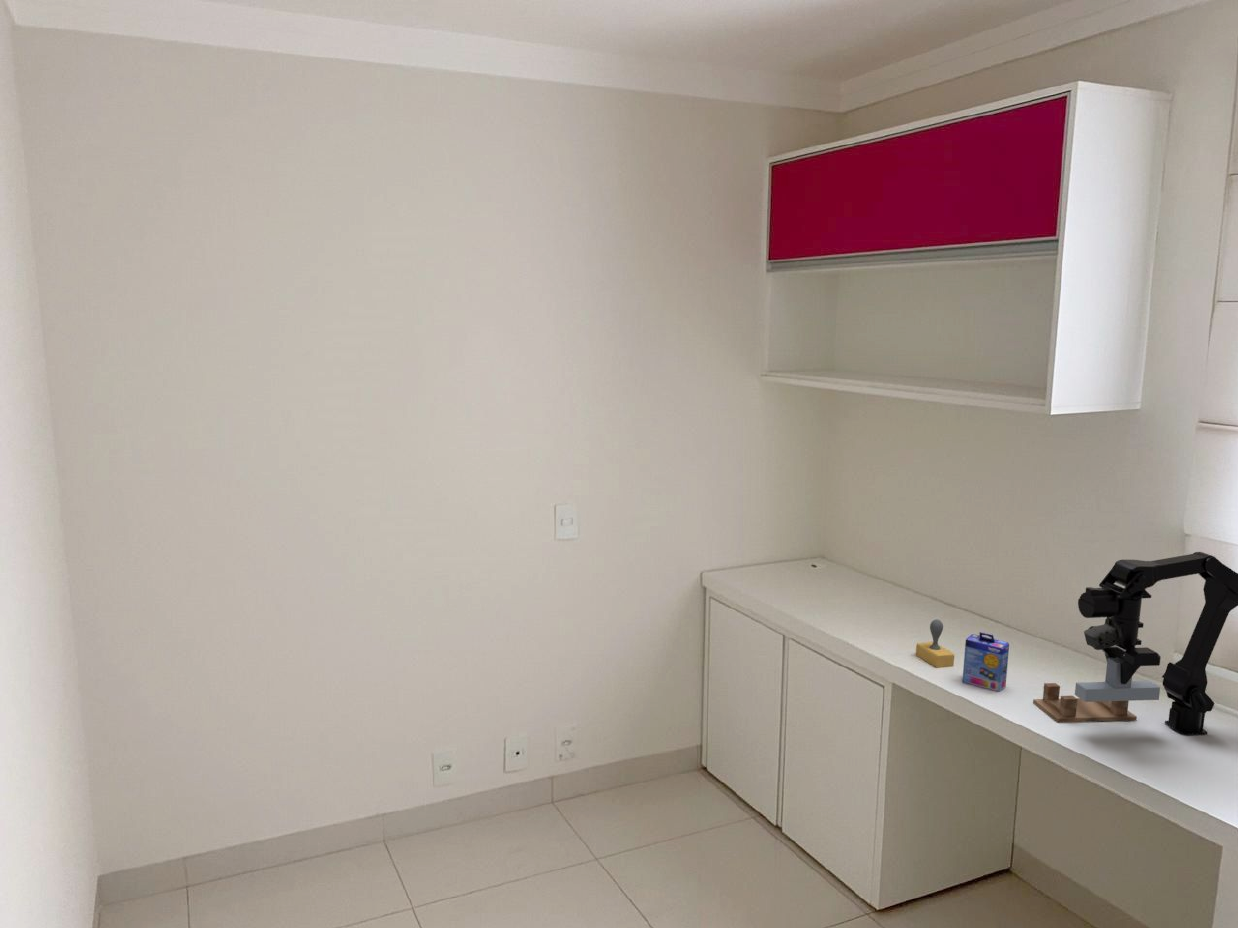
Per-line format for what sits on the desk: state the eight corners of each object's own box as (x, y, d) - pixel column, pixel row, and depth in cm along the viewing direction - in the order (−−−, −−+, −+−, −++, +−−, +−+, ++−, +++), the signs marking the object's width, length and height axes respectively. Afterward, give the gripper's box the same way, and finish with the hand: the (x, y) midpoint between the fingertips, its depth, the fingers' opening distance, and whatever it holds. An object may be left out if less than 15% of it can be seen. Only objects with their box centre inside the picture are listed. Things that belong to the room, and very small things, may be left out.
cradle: (1108, 701, 234) (1111, 680, 233) (1136, 720, 223) (1138, 698, 222) (1032, 702, 232) (1034, 682, 231) (1057, 722, 221) (1059, 700, 220)
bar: (1147, 692, 217) (1151, 656, 216) (1158, 699, 213) (1163, 662, 212) (1074, 694, 216) (1078, 657, 214) (1084, 701, 212) (1088, 664, 210)
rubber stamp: (914, 655, 263) (917, 614, 261) (932, 653, 265) (935, 613, 263) (936, 668, 254) (939, 626, 252) (954, 666, 255) (957, 624, 253)
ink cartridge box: (960, 682, 244) (965, 630, 242) (968, 676, 248) (972, 624, 246) (999, 692, 238) (1004, 639, 236) (1006, 686, 242) (1011, 633, 240)
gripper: (1068, 603, 220) (1062, 665, 222) (1117, 630, 201) (1110, 698, 204) (1112, 602, 221) (1106, 664, 223) (1165, 629, 202) (1157, 696, 205)
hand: (1118, 680), depth 214 cm, fingers closed on bar, 3 cm apart
